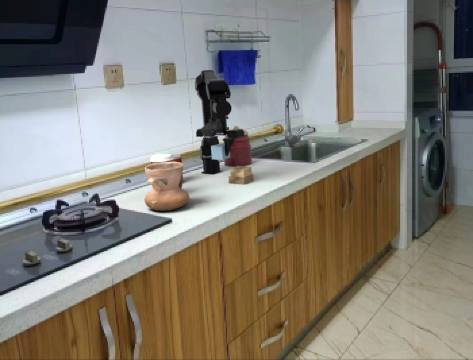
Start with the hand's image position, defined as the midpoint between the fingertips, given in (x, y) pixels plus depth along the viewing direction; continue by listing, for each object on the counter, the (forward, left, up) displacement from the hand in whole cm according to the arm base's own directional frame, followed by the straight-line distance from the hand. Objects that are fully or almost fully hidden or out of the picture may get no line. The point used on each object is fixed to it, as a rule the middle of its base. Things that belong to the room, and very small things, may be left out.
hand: (221, 155), depth 187 cm
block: (0, 0, -1) cm, 1 cm away
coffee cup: (-9, -23, -12) cm, 27 cm away
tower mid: (+5, +6, -9) cm, 12 cm away
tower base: (+4, +6, -12) cm, 14 cm away
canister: (-16, +37, -12) cm, 42 cm away
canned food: (-20, -5, -12) cm, 24 cm away
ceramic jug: (+1, -33, -12) cm, 35 cm away
